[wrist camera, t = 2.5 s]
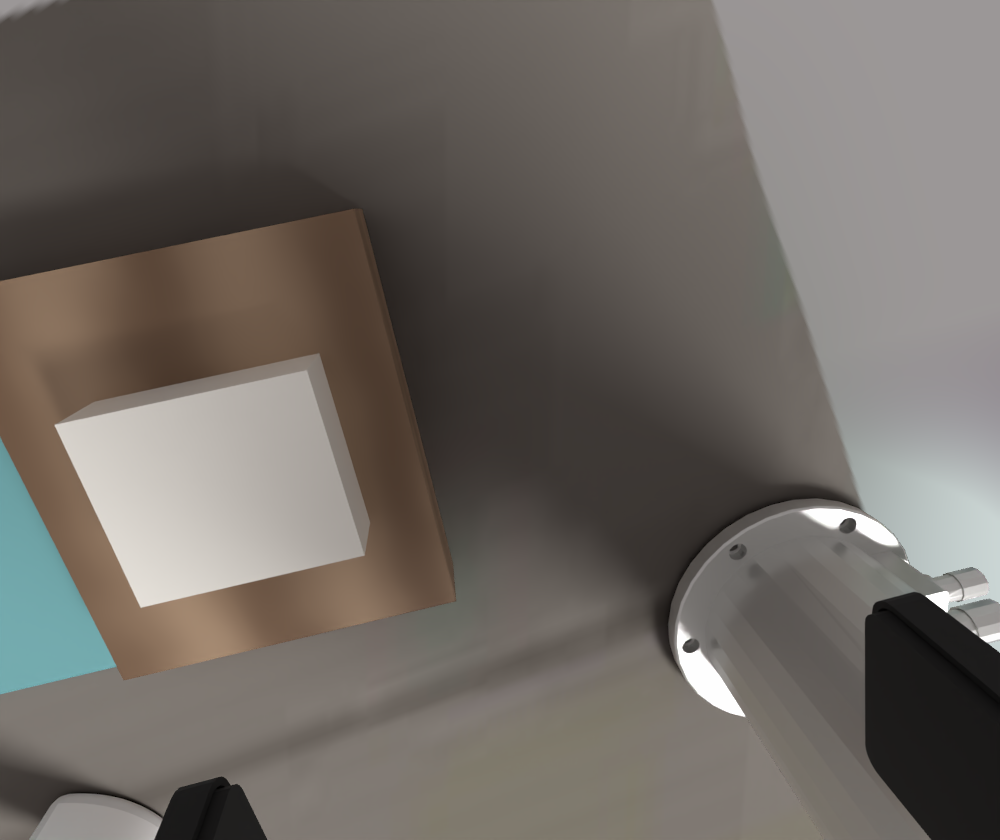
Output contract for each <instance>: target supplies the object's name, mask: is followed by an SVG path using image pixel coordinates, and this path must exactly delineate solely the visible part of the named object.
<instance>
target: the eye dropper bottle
mask: <svg viewBox="0 0 1000 840" xmlns="http://www.w3.org/2000/svg"><path fill="white" fill-rule="evenodd" d="M162 820H163V819H162V818H161V817H160V816H158V815H157V814H155V813H154V812H152V811H150V810H149V809H147V808H145V807H143V806H141V805H138V804H136V803H134V802H131V801H128V800H125V799H122V798H118V797H113V796H108V795H101V794H88V793H74V794H67V795H64V796H61V797H59V798H58V799H57V800H56V801H54V802H53V803H52V804H51V806H50V807H49V809H48V810H47V812H46V813H45V815H44V817H43V818H42V820H41V821H40V823H39V825H38V826H37V828H36V829H35V831H34V833H33V834H32V836H31V837H30V839H29V840H154V839H155V836H156V834H157V832H158V829H159V827H160V824H161V822H162Z"/></svg>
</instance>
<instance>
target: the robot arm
mask: <svg viewBox="0 0 1000 840" xmlns="http://www.w3.org/2000/svg"><path fill="white" fill-rule="evenodd" d="M988 591H989V584H988V581H987V579H986V578H985V576H984V575H983V574H982V573H981V572H980V571H979V570H978V569H976V568H973V567H970V568H966V569H961V570H958V571H953V572H949V573H946V574H943V576H939V577H935V578H932V577H930V576H929V575H924V574H922V573H920V572H919V571H918V570H916V569H915V568H913V567H912V566H911V565H910V563H909V560H908V558H907V555H906V553H905V550H904V548H903V546H902V545H901V544H900V542H899V541H898V540H897V538H896V537H895V535H894V534H893V533H892V532H891V531H890V530H889V529H887V528H886V527H885V526H884V525H883V524H881V523H880V522H879V521H878V520H876V519H874V518H873V517H871V516H870V515H868V514H867V513H865V512H864V511H862V510H860V509H859V508H856V507H854V506H851V505H848V504H845V503H842V502H839V501H833V500H826V499H818V498H815V499H798V500H790V501H786V502H782V503H778V504H774V505H770V506H767V507H765V508H762V509H760V510H758V511H755V512H753V513H750V514H748V515H746V516H744V517H743V518H741V519H740V520H738V521H736V522H735V523H733V524H731V525H730V526H728V527H727V528H725V529H724V530H723V531H722V532H720V533H719V534H718V535H717V536H716V537H715V538H713V539H712V540H711V541H710V542H709V543H708V544H706V546H705V547H704V548H703V549H702V550H701V551H700V553H699V554H698V555H697V556H696V557H695V558H694V560H693V561H692V562H691V563H690V565H689V567H688V568H687V570H686V572H685V573H684V575H683V577H682V578H681V580H680V582H679V584H678V587H677V589H676V592H675V595H674V598H673V600H672V603H671V609H670V615H669V622H668V628H669V643H670V646H671V650H672V653H673V656H674V659H675V662H676V663H677V665H678V667H679V669H680V671H681V672H682V674H683V676H684V678H685V680H686V681H687V682H688V684H689V685H690V686H691V687H692V689H693V690H694V691H695V692H696V694H698V695H699V696H700V697H701V698H703V699H704V700H705V701H707V702H708V703H709V704H710V705H712V706H714V707H717V708H719V709H721V710H723V711H725V712H727V713H731V714H734V715H738V716H741V717H746V718H747V720H748V721H749V723H750V724H751V726H752V728H753V729H754V731H755V732H756V734H757V735H758V737H759V739H760V740H761V742H762V743H763V745H764V746H765V748H766V749H767V751H768V753H769V754H770V756H771V757H772V759H773V760H774V762H775V764H776V765H777V767H778V768H779V770H780V771H781V773H782V775H783V776H784V778H785V779H786V781H787V782H788V784H789V785H790V787H791V789H792V790H793V792H794V793H795V795H796V796H797V798H798V800H799V801H800V803H801V804H802V806H803V807H804V809H805V810H806V812H807V814H808V815H809V817H810V818H811V820H812V821H813V823H814V825H815V826H816V828H817V829H818V831H819V832H820V834H821V836H822V837H823V839H824V840H1000V653H999V652H998V651H997V650H995V649H994V648H993V647H992V646H990V645H989V644H988V643H992V642H995V641H999V640H1000V604H999V603H998V602H996V601H994V600H991V599H986V600H980V601H977V602H972V603H968V604H964V605H960V606H956V607H952V608H950V610H949V611H947V608H948V603H949V602H954V601H957V602H960V601H964V600H968V599H972V598H976V597H979V596H984V595H987V593H988ZM154 840H267V838H266V836H265V834H264V832H263V830H262V828H261V826H260V824H259V822H258V820H257V818H256V816H255V814H254V812H253V810H252V808H251V806H250V804H249V802H248V800H247V798H246V795H245V793H244V791H243V789H242V788H241V787H240V785H238V784H235V785H230V784H229V782H228V781H227V779H226V778H224V777H218V778H214V779H210V780H207V781H203V782H199V783H195V784H192V785H188V786H184V787H180V788H179V789H178V790H177V791H176V792H175V793H174V795H173V797H172V798H171V800H170V803H169V805H168V808H167V810H166V812H165V815H164V817H163V820H162V822H161V824H160V827H159V829H158V832H157V834H156V836H155V839H154Z"/></svg>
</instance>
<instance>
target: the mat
mask: <svg viewBox="0 0 1000 840" xmlns="http://www.w3.org/2000/svg"><path fill="white" fill-rule="evenodd" d="M113 667H117V666H116V664H115V662H114V660H113V658H112V656H111V654H110V652H109V650H108V648H107V646H106V644H105V642H104V640H103V639H102V637H101V635H100V633H99V631H98V629H97V627H96V625H95V623H94V621H93V619H92V617H91V615H90V613H89V611H88V609H87V607H86V605H85V603H84V601H83V599H82V597H81V595H80V593H79V591H78V589H77V587H76V585H75V583H74V581H73V579H72V577H71V576H70V574H69V572H68V570H67V568H66V566H65V564H64V562H63V560H62V558H61V556H60V554H59V552H58V550H57V548H56V546H55V544H54V542H53V540H52V538H51V536H50V534H49V532H48V530H47V528H46V526H45V524H44V522H43V520H42V518H41V516H40V514H39V513H38V511H37V509H36V507H35V505H34V503H33V501H32V499H31V497H30V495H29V493H28V491H27V489H26V487H25V485H24V483H23V481H22V479H21V477H20V475H19V473H18V471H17V469H16V467H15V465H14V463H13V461H12V459H11V457H10V455H9V453H8V452H7V450H6V448H5V446H4V444H3V442H2V440H1V438H0V694H3V693H7V692H12V691H16V690H20V689H24V688H28V687H33V686H37V685H41V684H45V683H50V682H54V681H58V680H62V679H66V678H71V677H75V676H79V675H83V674H87V673H92V672H96V671H100V670H104V669H109V668H113Z"/></svg>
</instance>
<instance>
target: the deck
mask: <svg viewBox="0 0 1000 840" xmlns="http://www.w3.org/2000/svg"><path fill="white" fill-rule="evenodd" d="M317 353H319V354H320V358H321V361H322V364H323V368H324V371H325V374H326V378H327V381H328V384H329V388H330V391H331V394H332V397H333V401H334V404H335V407H336V411H337V414H338V417H339V421H340V424H341V427H342V431H343V434H344V437H345V441H346V444H347V447H348V451H349V454H350V457H351V460H352V464H353V467H354V470H355V474H356V477H357V480H358V484H359V487H360V490H361V494H362V497H363V500H364V504H365V507H366V510H367V514H368V517H369V520H370V526H369V532H368V538H367V545H366V551H365V556H361V557H356V558H352V559H348V560H344V561H339V562H335V563H331V564H326V565H322V566H318V567H314V568H309V569H305V570H301V571H296V572H292V573H288V574H283V575H279V576H275V577H271V578H266V579H262V580H258V581H253V582H249V583H245V584H241V585H236V586H232V587H228V588H223V589H219V590H215V591H211V592H206V593H202V594H198V595H193V596H189V597H185V598H181V599H176V600H172V601H168V602H163V603H159V604H155V605H150V606H146V607H142V608H141V607H140V605H139V603H138V601H137V599H136V597H135V595H134V593H133V590H132V588H131V586H130V584H129V582H128V580H127V578H126V576H125V573H124V571H123V569H122V567H121V565H120V563H119V561H118V559H117V557H116V554H115V552H114V550H113V548H112V546H111V544H110V542H109V540H108V537H107V535H106V533H105V531H104V529H103V527H102V525H101V523H100V521H99V518H98V516H97V514H96V512H95V510H94V508H93V506H92V504H91V501H90V499H89V497H88V495H87V493H86V491H85V489H84V487H83V485H82V482H81V480H80V478H79V476H78V474H77V472H76V470H75V468H74V465H73V463H72V461H71V459H70V457H69V455H68V453H67V451H66V449H65V446H64V444H63V442H62V440H61V438H60V436H59V434H58V432H57V429H56V427H55V424H57V423H59V422H60V421H62V420H64V419H65V418H67V417H69V416H71V415H72V414H74V413H76V412H77V411H79V410H81V409H83V408H84V407H86V406H88V405H89V404H91V403H93V402H95V401H100V400H104V399H109V398H114V397H118V396H123V395H128V394H132V393H137V392H142V391H146V390H151V389H155V388H160V387H165V386H169V385H174V384H179V383H183V382H188V381H192V380H197V379H202V378H206V377H211V376H216V375H220V374H225V373H229V372H234V371H239V370H243V369H248V368H253V367H257V366H262V365H267V364H271V363H276V362H280V361H285V360H290V359H294V358H299V357H304V356H308V355H313V354H317ZM0 438H1V440H2V442H3V444H4V446H5V448H6V450H7V452H8V453H9V455H10V457H11V459H12V461H13V463H14V465H15V467H16V469H17V471H18V473H19V475H20V477H21V479H22V481H23V483H24V485H25V487H26V489H27V491H28V493H29V495H30V497H31V499H32V501H33V503H34V505H35V507H36V509H37V511H38V513H39V514H40V516H41V518H42V520H43V522H44V524H45V526H46V528H47V530H48V532H49V534H50V536H51V538H52V540H53V542H54V544H55V546H56V548H57V550H58V552H59V554H60V556H61V558H62V560H63V562H64V564H65V566H66V568H67V570H68V572H69V574H70V576H71V577H72V579H73V581H74V583H75V585H76V587H77V589H78V591H79V593H80V595H81V597H82V599H83V601H84V603H85V605H86V607H87V609H88V611H89V613H90V615H91V617H92V619H93V621H94V623H95V625H96V627H97V629H98V631H99V633H100V635H101V637H102V639H103V640H104V642H105V644H106V646H107V648H108V650H109V652H110V654H111V656H112V658H113V660H114V662H115V664H116V666H117V668H118V670H119V672H120V674H121V676H122V678H123V680H127V679H132V678H136V677H140V676H144V675H148V674H153V673H157V672H161V671H165V670H169V669H174V668H178V667H182V666H186V665H190V664H195V663H199V662H203V661H207V660H211V659H216V658H220V657H224V656H228V655H232V654H236V653H241V652H245V651H249V650H253V649H257V648H262V647H266V646H270V645H274V644H278V643H283V642H287V641H291V640H295V639H299V638H304V637H308V636H312V635H316V634H320V633H325V632H329V631H333V630H337V629H341V628H346V627H350V626H354V625H358V624H362V623H366V622H371V621H375V620H379V619H383V618H387V617H392V616H396V615H400V614H404V613H408V612H413V611H417V610H421V609H425V608H429V607H434V606H438V605H442V604H446V603H450V602H455V601H456V594H455V582H454V571H453V562H452V558H451V554H450V550H449V546H448V542H447V538H446V534H445V530H444V527H443V523H442V519H441V515H440V511H439V507H438V503H437V499H436V495H435V491H434V487H433V484H432V480H431V476H430V472H429V468H428V464H427V460H426V456H425V452H424V448H423V444H422V441H421V437H420V433H419V429H418V425H417V421H416V417H415V413H414V409H413V405H412V402H411V398H410V394H409V390H408V386H407V382H406V378H405V374H404V370H403V366H402V362H401V359H400V355H399V351H398V347H397V343H396V339H395V335H394V331H393V327H392V323H391V319H390V316H389V312H388V308H387V304H386V300H385V296H384V292H383V288H382V284H381V280H380V276H379V273H378V269H377V265H376V261H375V257H374V253H373V249H372V245H371V241H370V237H369V234H368V230H367V226H366V222H365V218H364V214H363V210H362V209H350V210H345V211H340V212H335V213H330V214H325V215H321V216H316V217H311V218H306V219H301V220H296V221H291V222H286V223H282V224H277V225H272V226H267V227H262V228H257V229H252V230H247V231H243V232H238V233H233V234H228V235H223V236H218V237H213V238H208V239H203V240H199V241H194V242H189V243H184V244H179V245H174V246H169V247H164V248H160V249H155V250H150V251H145V252H140V253H135V254H130V255H125V256H121V257H116V258H111V259H106V260H101V261H96V262H91V263H86V264H82V265H77V266H72V267H67V268H62V269H57V270H52V271H47V272H42V273H38V274H33V275H28V276H23V277H18V278H13V279H8V280H3V281H0Z"/></svg>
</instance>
